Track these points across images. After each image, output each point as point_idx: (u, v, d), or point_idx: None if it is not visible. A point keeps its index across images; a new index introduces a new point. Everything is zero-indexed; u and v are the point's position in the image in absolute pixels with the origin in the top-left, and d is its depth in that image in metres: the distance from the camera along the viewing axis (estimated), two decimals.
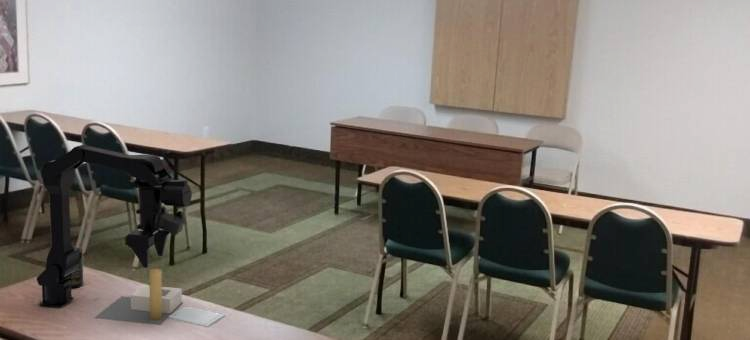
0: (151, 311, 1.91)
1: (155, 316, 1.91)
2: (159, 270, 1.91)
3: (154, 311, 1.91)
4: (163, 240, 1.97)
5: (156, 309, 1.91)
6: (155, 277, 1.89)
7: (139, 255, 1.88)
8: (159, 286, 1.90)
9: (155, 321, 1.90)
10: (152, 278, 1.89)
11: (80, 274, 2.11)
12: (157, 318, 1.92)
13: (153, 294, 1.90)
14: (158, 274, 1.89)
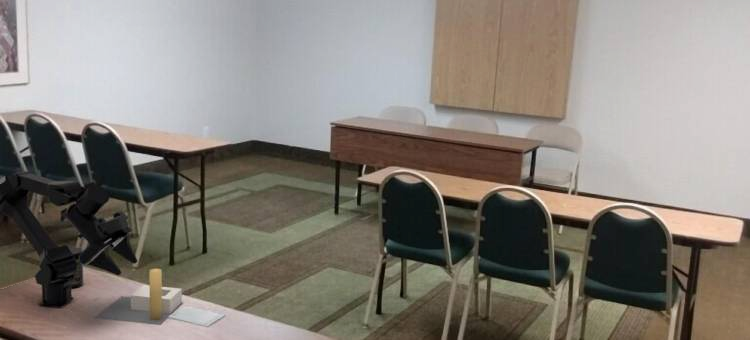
0: (151, 311, 1.91)
1: (155, 316, 1.91)
2: (159, 270, 1.91)
3: (154, 311, 1.91)
4: (127, 248, 1.95)
5: (156, 309, 1.91)
6: (155, 277, 1.89)
7: (105, 267, 1.85)
8: (159, 286, 1.90)
9: (155, 321, 1.90)
10: (152, 278, 1.89)
11: (80, 274, 2.11)
12: (157, 318, 1.92)
13: (153, 294, 1.90)
14: (158, 274, 1.89)
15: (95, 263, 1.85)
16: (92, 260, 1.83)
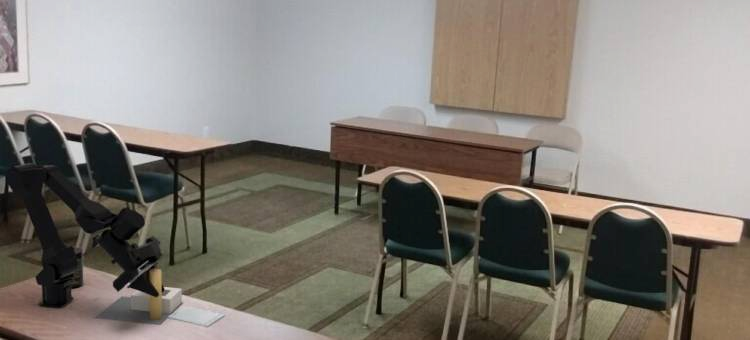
0: (151, 311, 1.91)
1: (155, 316, 1.91)
2: (159, 270, 1.90)
3: (154, 311, 1.91)
4: None
5: (156, 309, 1.91)
6: (155, 277, 1.89)
7: (144, 289, 1.88)
8: (159, 286, 1.90)
9: (155, 321, 1.90)
10: (152, 278, 1.89)
11: (80, 274, 2.11)
12: (157, 318, 1.92)
13: None
14: (158, 274, 1.89)
15: (134, 285, 1.88)
16: (131, 283, 1.86)
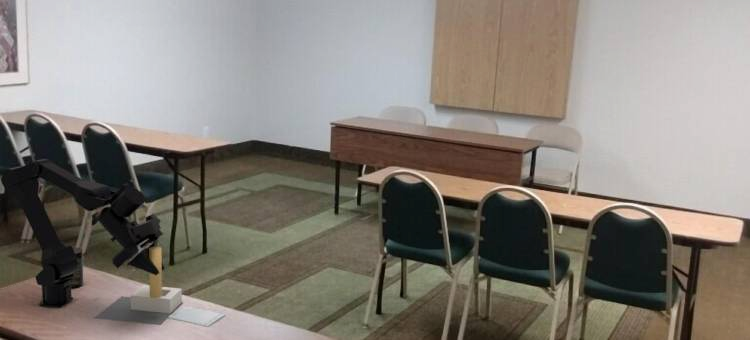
0: (151, 289, 1.90)
1: (155, 294, 1.90)
2: (159, 248, 1.89)
3: (154, 289, 1.90)
4: None
5: (156, 287, 1.90)
6: (155, 254, 1.88)
7: (143, 267, 1.87)
8: (159, 264, 1.89)
9: (155, 321, 1.90)
10: (152, 255, 1.88)
11: (80, 274, 2.11)
12: (157, 296, 1.90)
13: None
14: (158, 252, 1.88)
15: (134, 263, 1.87)
16: (131, 260, 1.85)
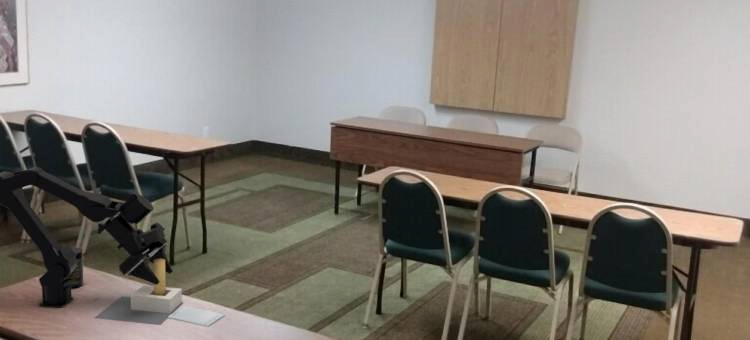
0: None
1: None
2: (162, 260, 1.98)
3: None
4: (163, 258, 2.02)
5: None
6: (159, 266, 1.97)
7: (144, 277, 1.93)
8: (163, 275, 1.98)
9: (155, 321, 1.90)
10: (156, 267, 1.97)
11: (80, 274, 2.11)
12: None
13: None
14: (162, 264, 1.97)
15: (135, 273, 1.92)
16: (132, 270, 1.91)
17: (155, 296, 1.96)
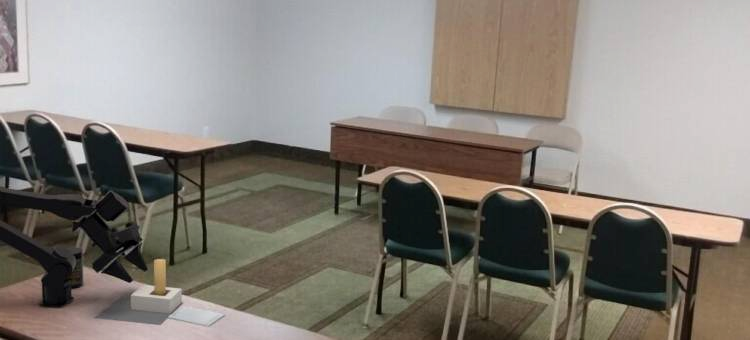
0: None
1: None
2: (163, 260, 1.98)
3: None
4: (138, 256, 2.03)
5: None
6: (160, 266, 1.97)
7: (117, 275, 1.94)
8: (163, 276, 1.98)
9: (155, 321, 1.90)
10: (156, 267, 1.97)
11: (80, 274, 2.11)
12: None
13: (158, 283, 1.97)
14: (162, 264, 1.97)
15: (108, 271, 1.93)
16: (105, 268, 1.91)
17: (155, 296, 1.96)
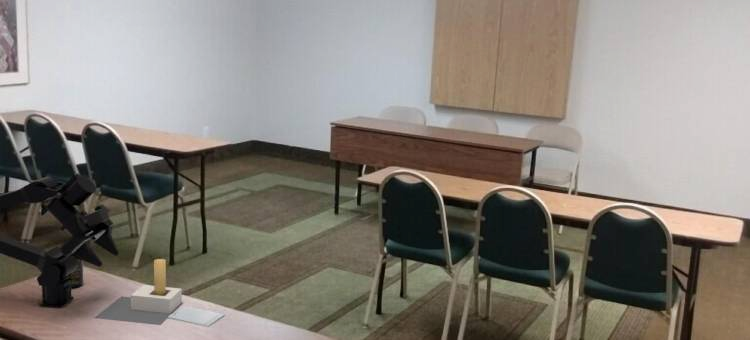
0: None
1: None
2: (163, 260, 1.98)
3: None
4: (109, 240, 2.00)
5: None
6: (160, 266, 1.97)
7: (87, 259, 1.90)
8: (163, 276, 1.98)
9: (155, 321, 1.90)
10: (156, 267, 1.97)
11: (80, 274, 2.11)
12: None
13: (158, 283, 1.97)
14: (162, 264, 1.97)
15: (77, 255, 1.89)
16: (73, 252, 1.88)
17: (155, 296, 1.96)
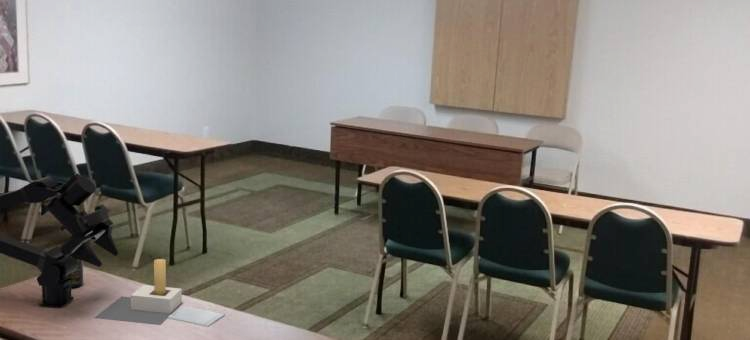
0: None
1: None
2: (163, 260, 1.98)
3: None
4: (109, 240, 2.00)
5: None
6: (160, 266, 1.97)
7: (86, 259, 1.90)
8: (163, 276, 1.98)
9: (155, 321, 1.90)
10: (156, 267, 1.97)
11: (80, 274, 2.11)
12: None
13: (158, 283, 1.97)
14: (162, 264, 1.97)
15: (76, 255, 1.89)
16: (73, 252, 1.88)
17: (155, 296, 1.96)
